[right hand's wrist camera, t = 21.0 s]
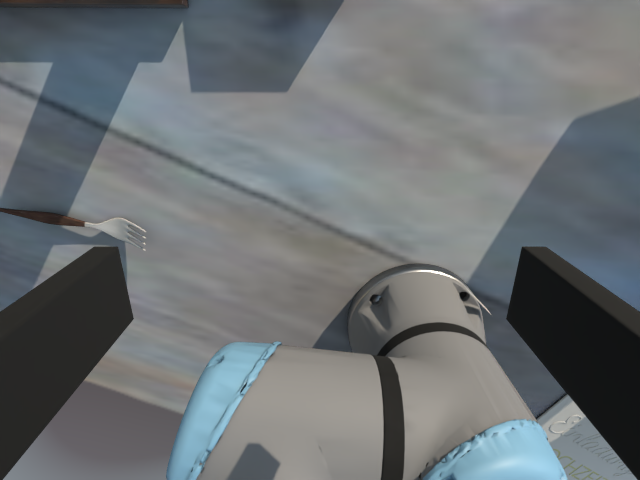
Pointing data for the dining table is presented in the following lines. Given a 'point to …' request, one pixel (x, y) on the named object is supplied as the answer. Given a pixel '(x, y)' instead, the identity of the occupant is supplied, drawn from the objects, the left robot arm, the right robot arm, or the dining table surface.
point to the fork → (84, 224)
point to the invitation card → (580, 445)
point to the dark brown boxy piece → (97, 3)
